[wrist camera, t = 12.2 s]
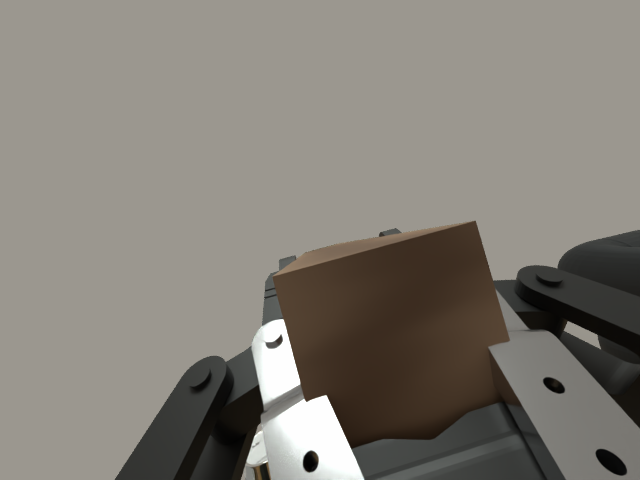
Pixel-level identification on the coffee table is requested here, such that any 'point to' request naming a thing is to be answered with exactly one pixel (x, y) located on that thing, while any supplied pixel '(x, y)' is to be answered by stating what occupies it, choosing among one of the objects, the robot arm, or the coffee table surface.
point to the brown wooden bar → (395, 330)
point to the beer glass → (257, 460)
